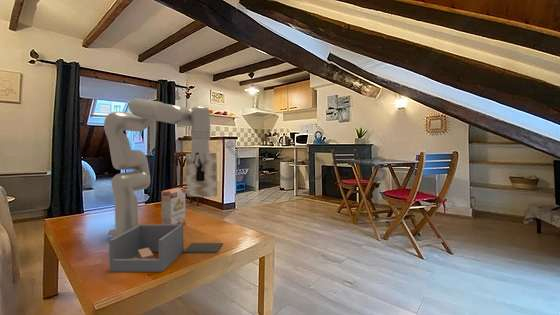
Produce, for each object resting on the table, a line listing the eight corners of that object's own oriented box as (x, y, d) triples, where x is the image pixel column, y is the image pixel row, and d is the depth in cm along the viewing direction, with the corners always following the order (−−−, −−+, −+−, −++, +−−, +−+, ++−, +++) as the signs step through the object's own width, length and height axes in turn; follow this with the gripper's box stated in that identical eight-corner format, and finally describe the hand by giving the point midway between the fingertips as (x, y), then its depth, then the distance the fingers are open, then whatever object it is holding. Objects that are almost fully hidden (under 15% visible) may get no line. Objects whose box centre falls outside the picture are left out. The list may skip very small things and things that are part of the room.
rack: (109, 271, 91) (109, 240, 91) (140, 250, 110) (139, 224, 109) (162, 271, 90) (161, 240, 90) (183, 250, 109) (183, 224, 109)
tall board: (186, 196, 109) (185, 153, 109) (189, 195, 112) (188, 153, 112) (215, 196, 109) (214, 153, 108) (217, 195, 112) (216, 153, 111)
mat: (183, 253, 107) (183, 251, 107) (191, 244, 117) (191, 242, 117) (217, 253, 106) (217, 251, 106) (223, 244, 116) (223, 242, 116)
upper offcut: (138, 256, 99) (137, 249, 99) (148, 253, 101) (148, 247, 101) (142, 264, 92) (142, 257, 92) (153, 261, 94) (153, 254, 94)
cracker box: (171, 231, 136) (170, 191, 135) (161, 230, 137) (160, 191, 136) (186, 224, 149) (185, 187, 149) (177, 223, 150) (176, 187, 150)
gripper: (198, 137, 118) (199, 178, 119) (184, 135, 102) (185, 182, 102) (215, 137, 118) (216, 178, 118) (203, 135, 102) (204, 182, 102)
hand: (201, 180), depth 110 cm, fingers closed on tall board, 3 cm apart
